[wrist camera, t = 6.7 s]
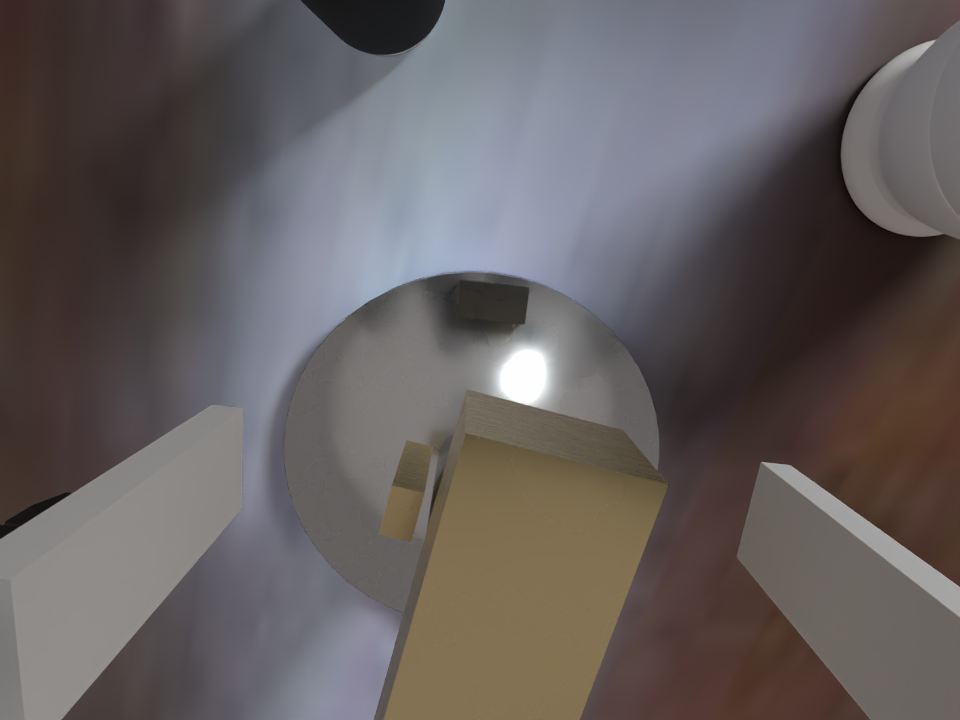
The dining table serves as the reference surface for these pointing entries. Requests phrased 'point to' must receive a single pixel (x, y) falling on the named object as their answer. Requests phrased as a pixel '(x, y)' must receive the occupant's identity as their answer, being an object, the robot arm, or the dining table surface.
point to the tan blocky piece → (515, 563)
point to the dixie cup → (379, 22)
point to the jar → (909, 141)
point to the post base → (438, 403)
